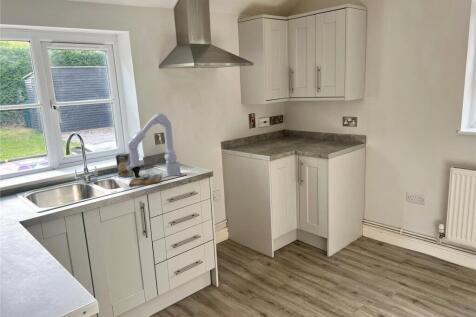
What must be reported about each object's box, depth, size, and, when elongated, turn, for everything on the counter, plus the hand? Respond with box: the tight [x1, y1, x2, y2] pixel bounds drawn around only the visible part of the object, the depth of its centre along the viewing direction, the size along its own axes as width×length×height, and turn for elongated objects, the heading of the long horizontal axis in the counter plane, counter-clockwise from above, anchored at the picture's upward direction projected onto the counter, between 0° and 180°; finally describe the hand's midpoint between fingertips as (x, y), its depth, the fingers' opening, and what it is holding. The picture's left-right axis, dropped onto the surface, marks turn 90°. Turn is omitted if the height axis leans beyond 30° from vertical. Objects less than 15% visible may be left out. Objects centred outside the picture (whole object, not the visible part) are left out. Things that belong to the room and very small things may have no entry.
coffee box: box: [115, 153, 134, 178], centre depth 257 cm, size 9×6×16 cm
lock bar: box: [133, 173, 149, 179], centre depth 240 cm, size 10×3×2 cm, turn 69°
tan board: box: [128, 173, 162, 187], centre depth 240 cm, size 19×22×1 cm
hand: (137, 177), depth 240 cm, fingers closed, pressing on lock bar
